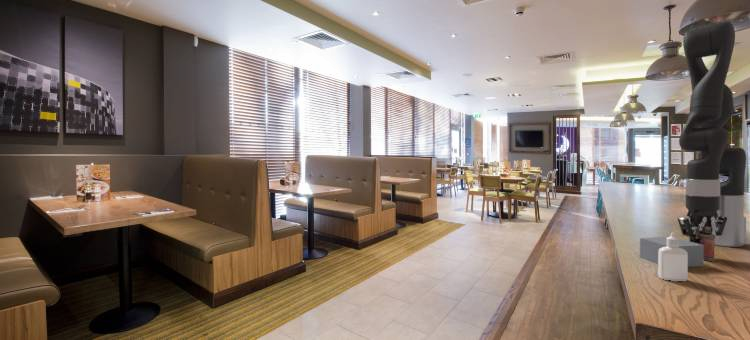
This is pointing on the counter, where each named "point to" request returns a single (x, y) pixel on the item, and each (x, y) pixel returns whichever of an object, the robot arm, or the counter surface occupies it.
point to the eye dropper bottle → (673, 261)
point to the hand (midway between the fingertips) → (701, 249)
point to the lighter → (707, 243)
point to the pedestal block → (652, 245)
